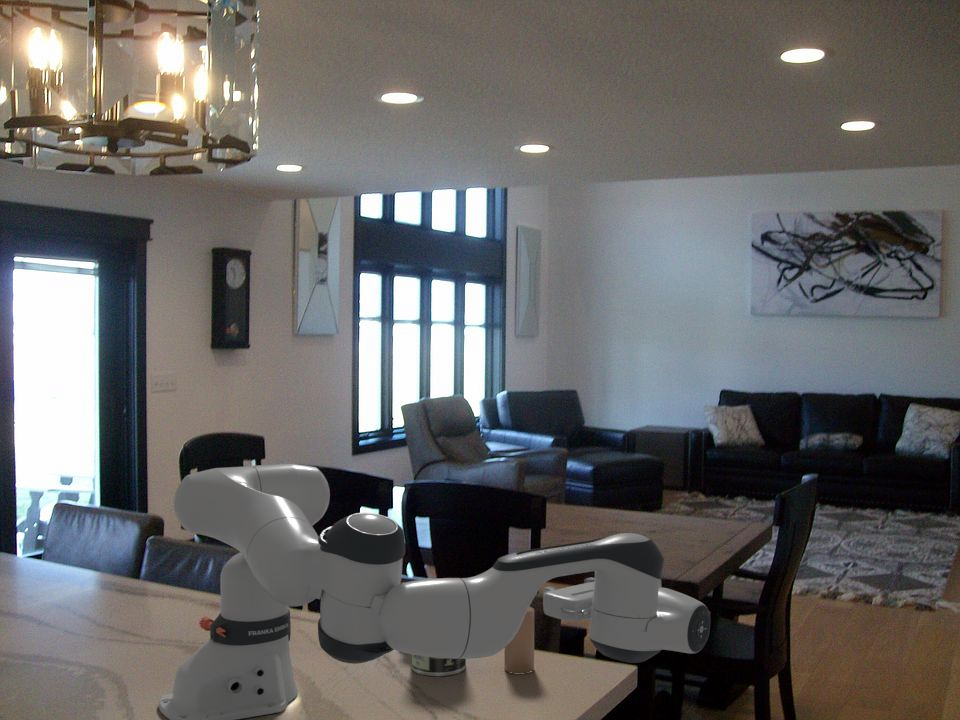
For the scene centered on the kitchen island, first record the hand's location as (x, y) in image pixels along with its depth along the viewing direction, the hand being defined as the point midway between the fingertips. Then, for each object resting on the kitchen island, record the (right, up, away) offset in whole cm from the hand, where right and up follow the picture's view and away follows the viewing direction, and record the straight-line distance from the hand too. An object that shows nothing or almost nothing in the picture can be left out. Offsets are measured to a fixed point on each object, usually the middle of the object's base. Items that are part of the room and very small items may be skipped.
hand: (566, 586), depth 171 cm
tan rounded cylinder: (-8, -17, +10) cm, 22 cm away
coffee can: (-23, -18, +11) cm, 31 cm away
